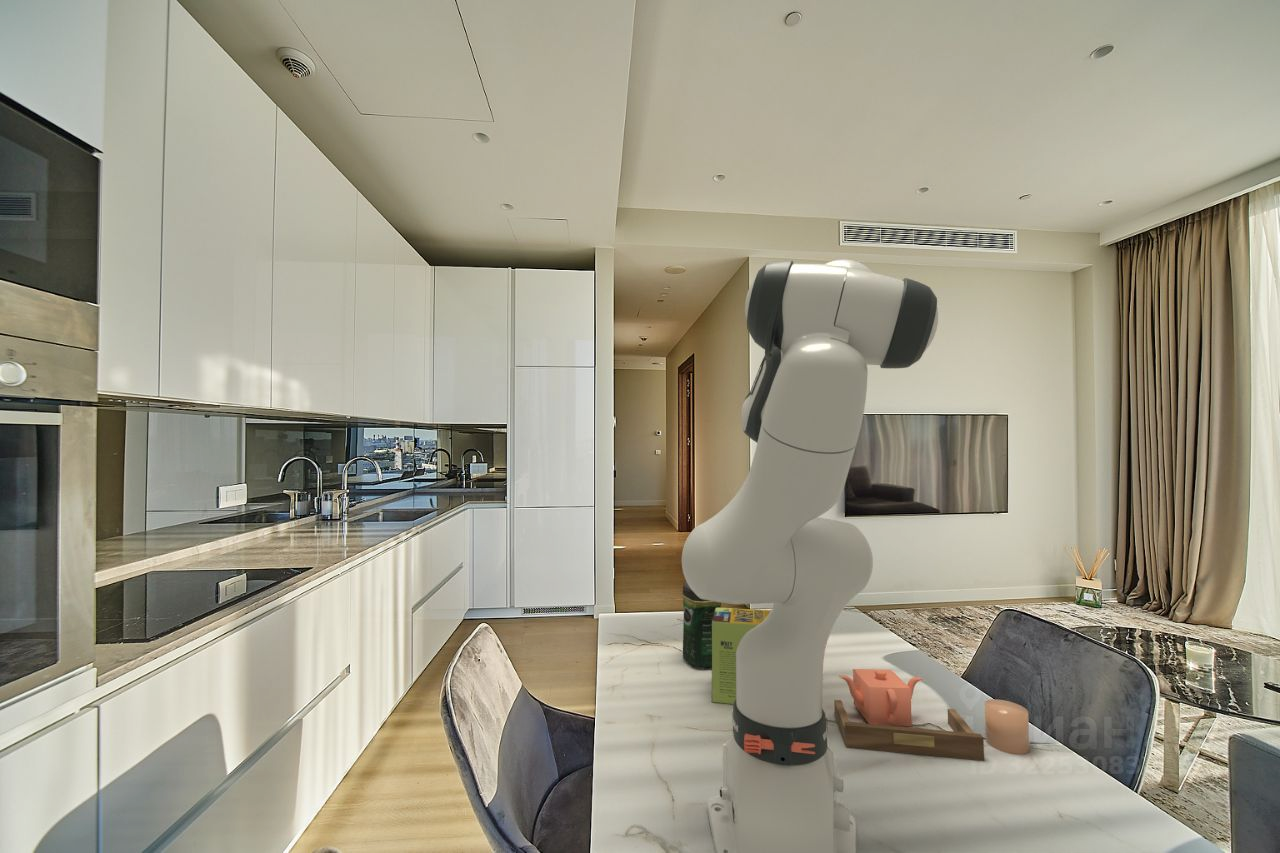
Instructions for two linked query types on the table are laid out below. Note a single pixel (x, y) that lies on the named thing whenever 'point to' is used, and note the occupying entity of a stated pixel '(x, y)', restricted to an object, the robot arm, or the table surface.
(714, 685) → the protein box
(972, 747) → the display bay
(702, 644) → the coffee jar
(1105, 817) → the table surface
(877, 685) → the teapot
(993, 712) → the peach rounded cylinder
